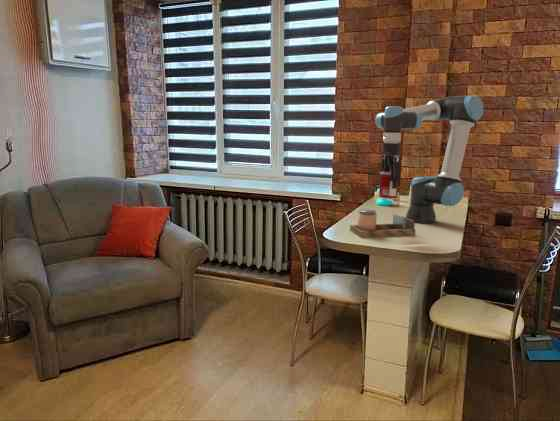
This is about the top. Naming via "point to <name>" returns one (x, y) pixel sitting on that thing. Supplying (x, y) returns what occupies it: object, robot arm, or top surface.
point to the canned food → (386, 185)
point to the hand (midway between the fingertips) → (388, 194)
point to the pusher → (399, 222)
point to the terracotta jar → (367, 220)
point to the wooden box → (385, 230)
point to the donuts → (384, 201)
